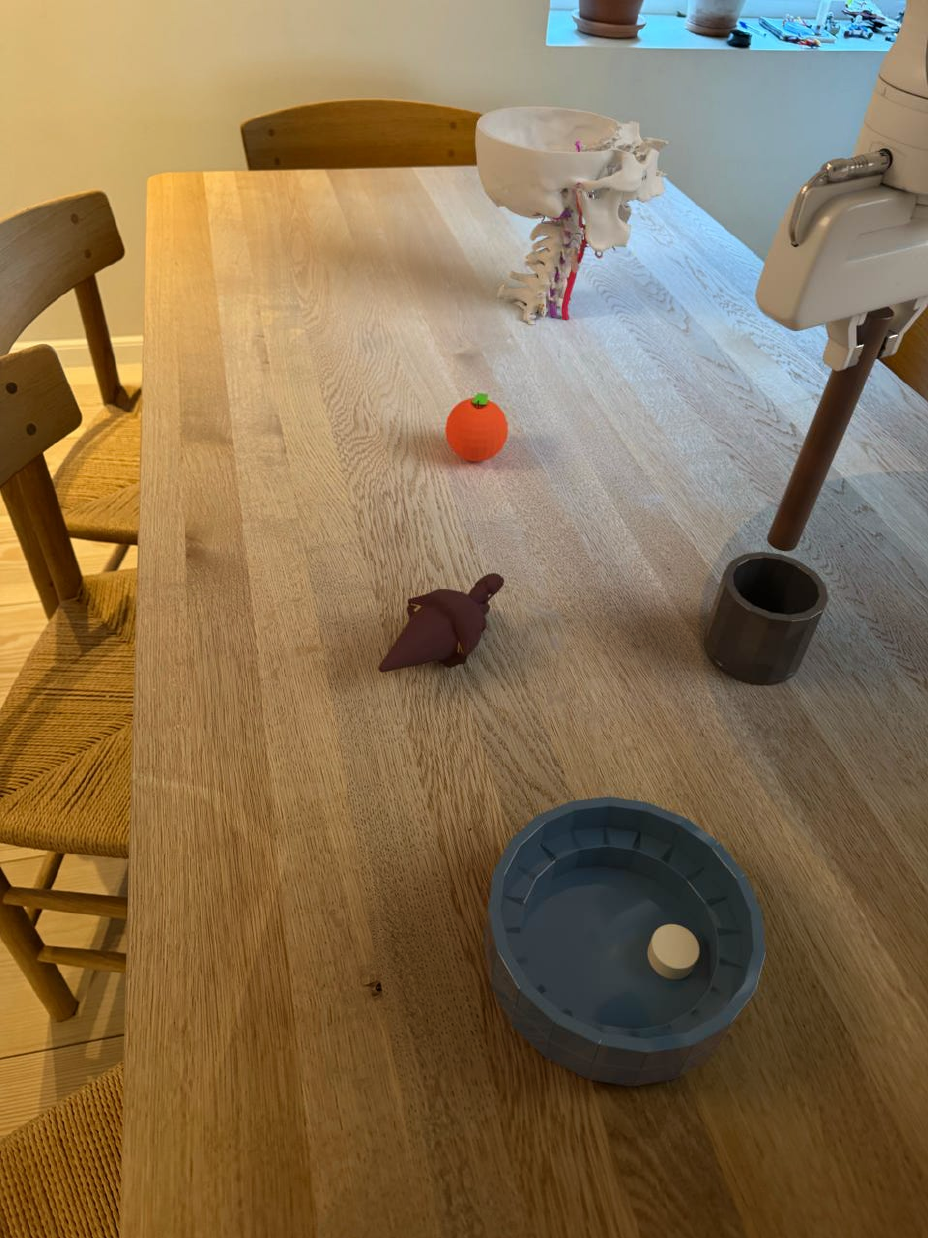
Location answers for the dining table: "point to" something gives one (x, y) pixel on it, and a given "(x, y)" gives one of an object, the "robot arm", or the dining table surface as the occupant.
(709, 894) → the bowl
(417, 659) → the icecream
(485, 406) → the clementine
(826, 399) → the stick
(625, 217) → the skull
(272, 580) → the dining table surface
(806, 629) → the holder
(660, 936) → the dough
